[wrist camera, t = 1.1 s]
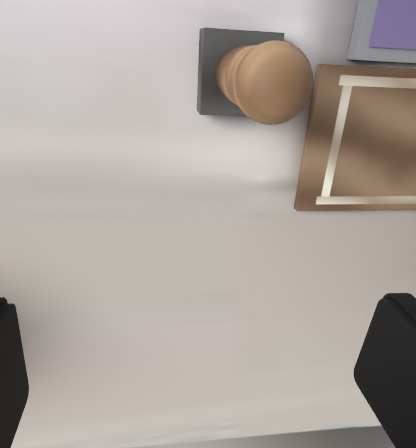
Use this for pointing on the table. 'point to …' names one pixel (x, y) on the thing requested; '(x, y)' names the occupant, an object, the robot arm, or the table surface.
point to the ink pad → (384, 31)
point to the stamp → (251, 75)
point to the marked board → (360, 141)
